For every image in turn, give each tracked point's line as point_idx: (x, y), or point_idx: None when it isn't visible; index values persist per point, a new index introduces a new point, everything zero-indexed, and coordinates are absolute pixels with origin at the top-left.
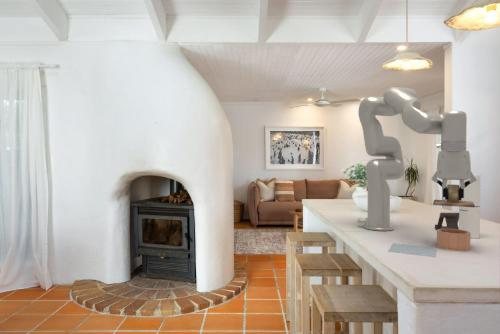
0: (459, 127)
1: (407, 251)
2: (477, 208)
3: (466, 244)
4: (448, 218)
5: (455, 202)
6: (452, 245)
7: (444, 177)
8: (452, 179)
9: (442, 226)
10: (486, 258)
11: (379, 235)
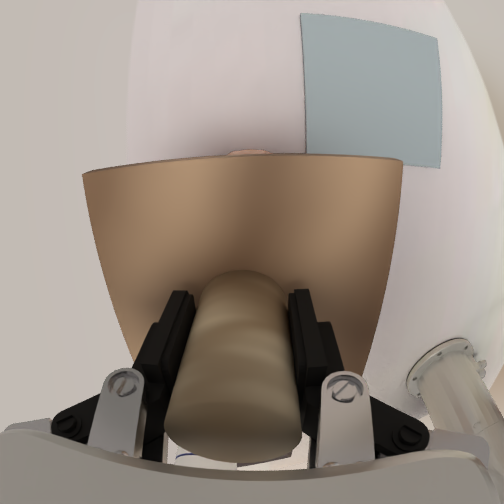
0: None
1: (391, 53)
2: (180, 450)
3: None
4: None
5: (223, 274)
6: (251, 151)
7: (389, 486)
8: (227, 472)
9: None
10: (149, 108)
11: (458, 286)
